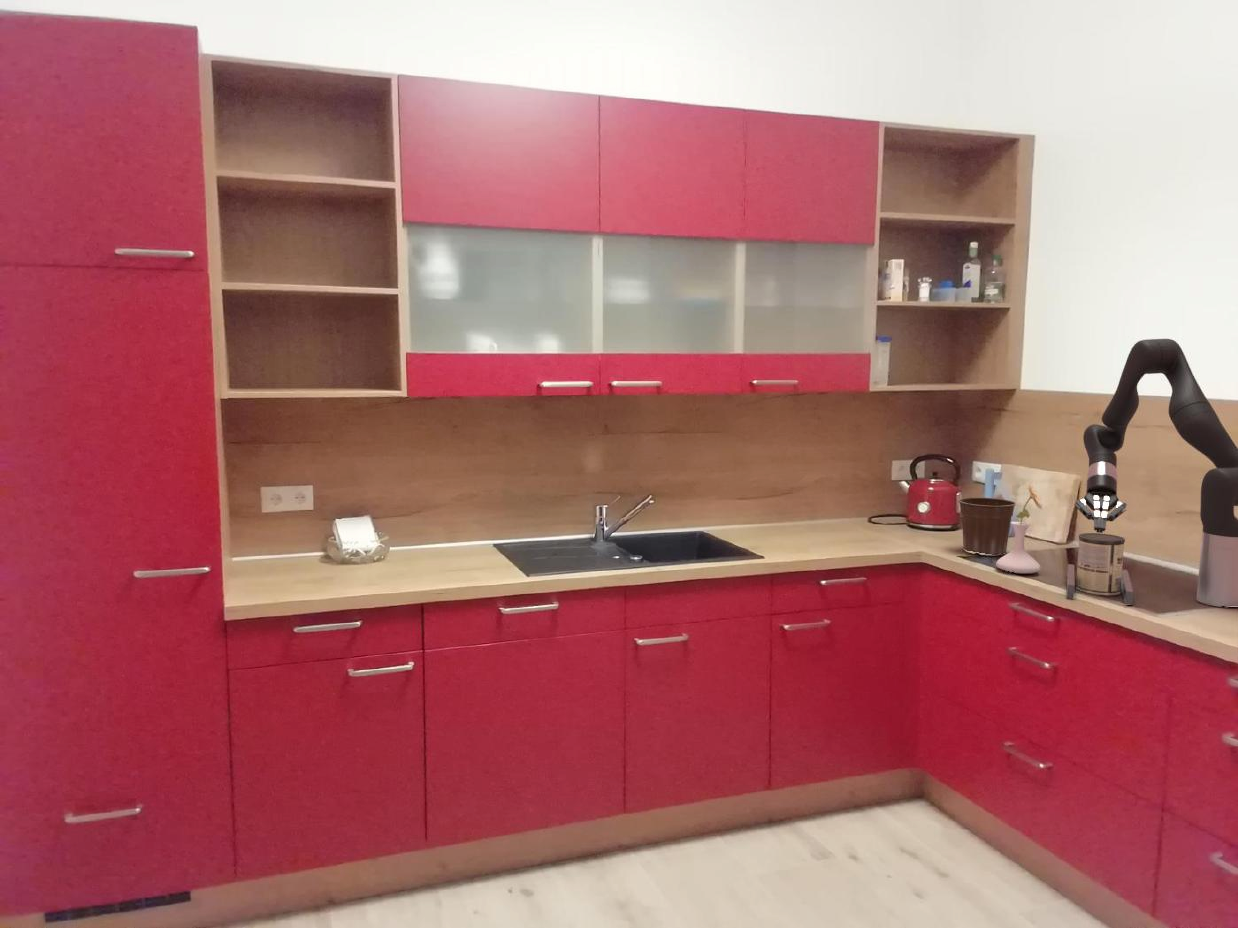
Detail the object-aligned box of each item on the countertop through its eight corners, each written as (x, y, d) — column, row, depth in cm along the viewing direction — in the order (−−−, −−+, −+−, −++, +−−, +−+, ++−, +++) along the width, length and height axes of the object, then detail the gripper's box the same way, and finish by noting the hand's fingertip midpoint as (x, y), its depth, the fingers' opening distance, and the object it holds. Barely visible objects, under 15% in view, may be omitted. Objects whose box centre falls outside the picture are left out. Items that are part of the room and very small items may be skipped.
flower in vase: (1026, 578, 234) (1032, 487, 231) (987, 570, 243) (992, 482, 240) (1051, 572, 241) (1057, 483, 238) (1012, 564, 250) (1017, 479, 248)
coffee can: (1076, 583, 229) (1079, 531, 227) (1121, 589, 224) (1125, 535, 222) (1073, 592, 220) (1077, 537, 218) (1120, 597, 215) (1124, 542, 213)
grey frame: (1126, 582, 230) (1127, 570, 230) (1132, 606, 207) (1133, 592, 207) (1067, 576, 237) (1068, 564, 236) (1066, 598, 214) (1067, 584, 213)
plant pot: (975, 559, 257) (978, 505, 255) (945, 548, 273) (948, 497, 271) (1024, 557, 260) (1027, 504, 258) (991, 546, 276) (994, 496, 274)
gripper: (1076, 471, 246) (1073, 520, 237) (1129, 475, 240) (1128, 525, 231) (1074, 488, 251) (1071, 536, 242) (1127, 491, 245) (1126, 541, 236)
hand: (1099, 530), depth 236 cm, fingers closed
